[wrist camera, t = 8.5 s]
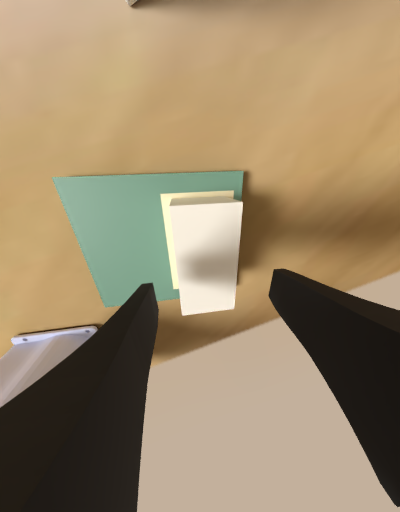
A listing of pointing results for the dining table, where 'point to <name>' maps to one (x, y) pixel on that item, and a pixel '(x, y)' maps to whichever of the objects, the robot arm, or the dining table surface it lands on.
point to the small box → (130, 2)
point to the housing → (206, 251)
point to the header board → (134, 226)
